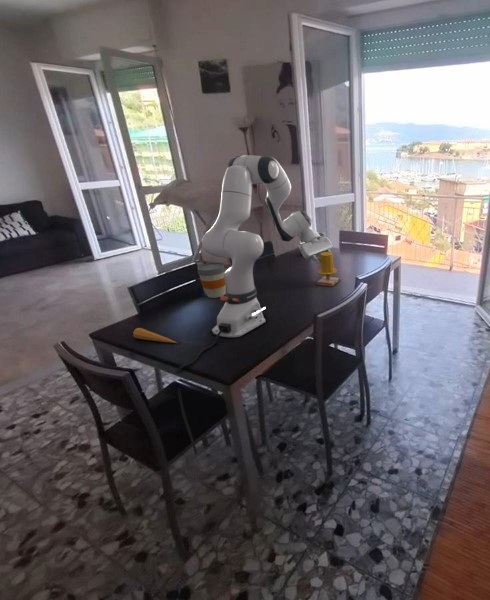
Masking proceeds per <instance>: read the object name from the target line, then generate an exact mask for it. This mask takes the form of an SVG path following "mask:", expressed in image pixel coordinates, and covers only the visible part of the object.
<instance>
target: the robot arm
mask: <svg viewBox="0 0 490 600" xmlns="http://www.w3.org/2000/svg"><path fill="white" fill-rule="evenodd" d="M262 184H263V185H264V187H265V190H266V196H265V198H264V200H265V201H264V202H265V205H266V207H267V210H268V213H269V216H270V218H271V220H272V223H273V225H274V229H275V232H276V235H277V237H278V238H279V239H280V240H281V241H283V242H290V241H292V240H293V239H294V238H296V237H298V238H299V240H301V242H302V243H300V242H299V243H298V244H297V248H298V249H299V252H300V254H301V253H302V254H301V255H302V257H303V258H304V259H305V260H310V259H311V260H312V261H314V262H315V263H316V264H321V259H320V258H317V256H320V254H321V253H322V252H331V251H332V249H333V248H334V244H333V243H332V242H331V241H330V239H329V238H328V237H327V236H326V234H325V233H324V232H321V231H316V230H315V229H313V228H312V227H311V226H312V218H311V217H310V216H309V215H308V214H307V212H306V211H305V210H298V211H294V212H291V213H290V214H289V216H288V217H287V218H285V219H284V220H282V216H281V214H280V209H281V206H282V205H283V204H284V202H285V201H286V200H287V199H288V198H289V197H290V194H291V192H292V184H291V181H290V179H289V176H288V175H287V173H286V171H285V170H284V168H283V167H282V165H281V164H280V163H279V161H278V160H277V159H275V158H274V157H273V156H269V155H252V154H250V155H249V154H248V155H238V156H234V157H232V158H230V160H229V162H228V164H227V168H226V170H225V173H224V175H223V180H222V186H221V197H220V206H219V213H218V216H217V218H216V220H215V222H214V224H213V225H212V226H211V228H210V229H209V230H208V231H206V232H205V233H204V235H202V239H201V245H202V249H203V250H204V252H205V253H206V254H209V255H211V256H214V257H216V258H225V259H230V260H231V266H230V267H228V268H227V269H225V274H224V278H225V283H226V294H225V295H223V296H221V297H220V301H222V302H223V301H224V302H225V303H224V304H223V306H222V307H221V309H220V312H219V313H218V314H217V316H216V325H215V326H214V327H213V328H212V329H211V332H212V334H214V335H215V339H214V341H213V342H212V343H211V344H209V345H208V346H206V347H204V348H203V349H201V350H200V351H199V352H198V353H197V355H196V356H195V357H194V358H193V359H192V360H191V361H190V362H187V363H184V364H182V365H181V366H179V368H177V370H176V374H177V375H178V374H180V372H181V371H182V369H184V368H186V367H188V366H190V365H193V364H194V363H195V362H196V361H197V360H198V359H199V357H200V356H201V355H202V354H203V353H204V352H205V351H207V350H209V349H211V348H213V347H214V346H215V345H216V344H217V342H218V339H219V337H222V338H223V337H224V338H240V337H242V336H243V335H245V334H247V333H249V332H251V331H253V330H254V329H256V328H258V327H260V326H261V325H263V324H264V323H266V322H267V321H266V318H265V317H264V314H263V311H264V310H266V306H264V307H261V304H260V302H259V300H258V298H257V297H258V290H257V288H256V286H255V280H254V266H255V263H256V262H257V260H258V259H260V257H261V256H262V255H263V253H264V248H265V244H264V240H263V238H262V236H260V235H259V234H257V233H254V232H251V231H248V230H239V228H240V226H241V225H242V223H244V222H246V221H247V220H248V219H250V216H251V209H252V198H253V197H252V196H253V185H262ZM314 230H315V231H316V232H315V231H314ZM177 395H178V402H179V406H180V411H181V414H182V418H183V422H184V424H185V427H186V431H187V433H188V437H189V439H190V442H191V445H192V448H193V453H194V455H197V454H198V451H197V445H196V444H195V440H194V437H193V434H192V430H191V427H190V424H189V422H188V419H187V415H186V411H185V408H184V403H183V398H182V397H183V396H182V390H181V387H179V388H177Z"/></svg>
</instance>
